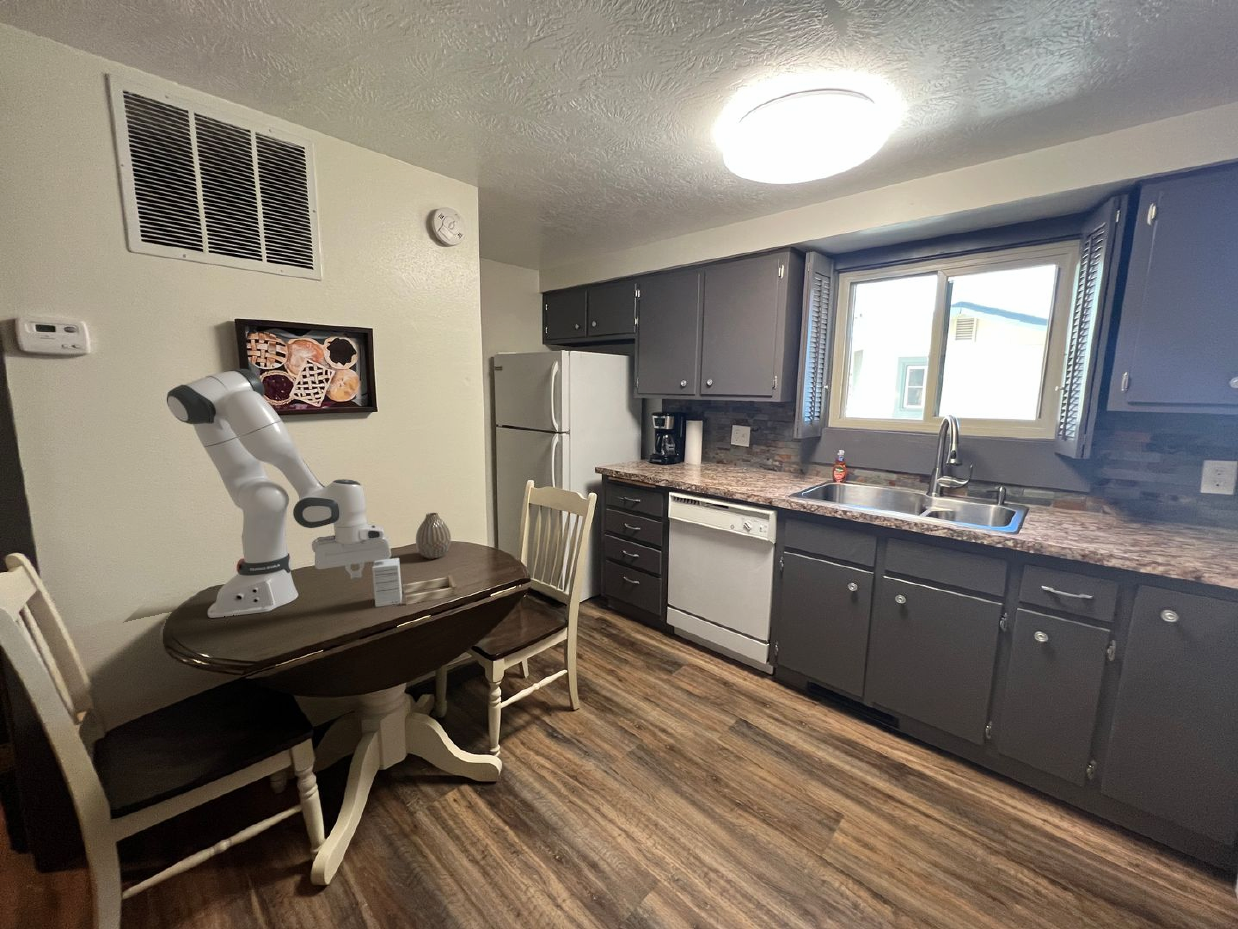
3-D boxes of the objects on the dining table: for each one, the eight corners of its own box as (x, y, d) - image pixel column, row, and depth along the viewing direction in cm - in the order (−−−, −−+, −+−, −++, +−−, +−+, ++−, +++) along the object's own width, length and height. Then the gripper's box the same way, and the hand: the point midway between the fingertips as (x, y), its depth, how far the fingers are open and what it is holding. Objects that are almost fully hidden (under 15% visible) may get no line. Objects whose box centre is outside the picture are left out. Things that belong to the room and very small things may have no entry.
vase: (456, 551, 202) (453, 509, 200) (445, 561, 189) (442, 517, 187) (424, 551, 202) (421, 510, 200) (411, 562, 189) (408, 518, 187)
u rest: (406, 604, 150) (405, 595, 150) (403, 591, 160) (402, 583, 160) (457, 595, 157) (456, 586, 156) (451, 583, 167) (451, 575, 166)
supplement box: (377, 598, 155) (374, 560, 153) (402, 594, 158) (399, 557, 156) (374, 607, 148) (371, 567, 147) (401, 603, 151) (398, 564, 149)
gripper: (309, 541, 138) (315, 587, 140) (389, 531, 147) (393, 574, 150) (312, 535, 144) (317, 580, 146) (388, 526, 153) (392, 568, 155)
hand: (356, 577), depth 148 cm, fingers closed
